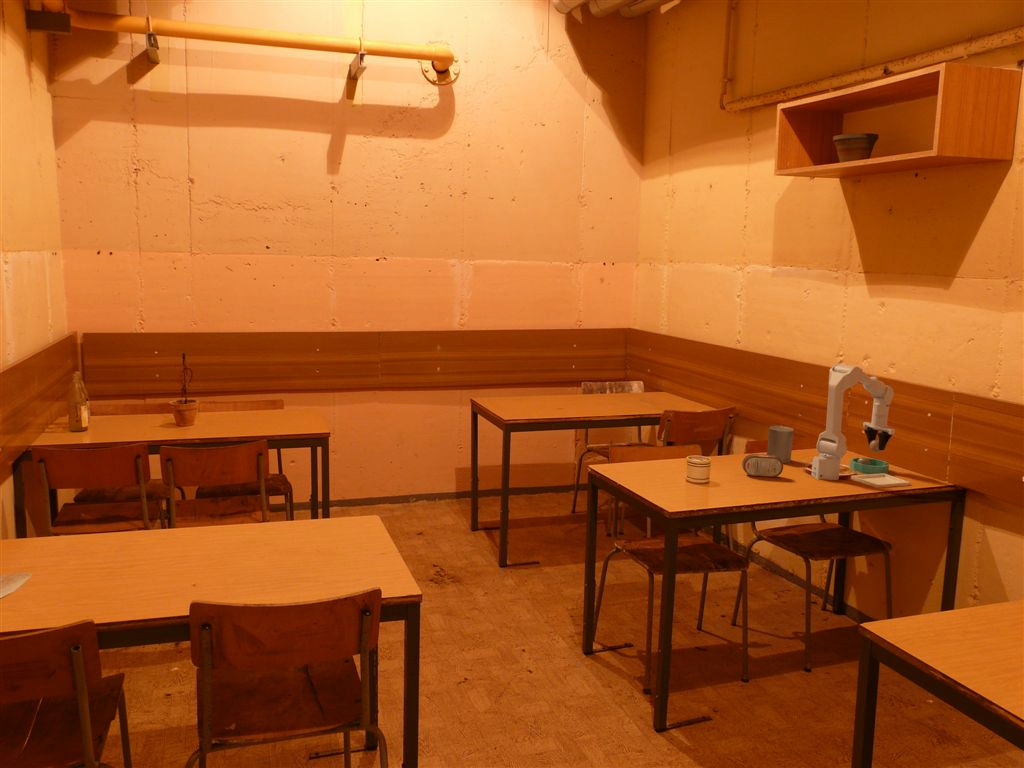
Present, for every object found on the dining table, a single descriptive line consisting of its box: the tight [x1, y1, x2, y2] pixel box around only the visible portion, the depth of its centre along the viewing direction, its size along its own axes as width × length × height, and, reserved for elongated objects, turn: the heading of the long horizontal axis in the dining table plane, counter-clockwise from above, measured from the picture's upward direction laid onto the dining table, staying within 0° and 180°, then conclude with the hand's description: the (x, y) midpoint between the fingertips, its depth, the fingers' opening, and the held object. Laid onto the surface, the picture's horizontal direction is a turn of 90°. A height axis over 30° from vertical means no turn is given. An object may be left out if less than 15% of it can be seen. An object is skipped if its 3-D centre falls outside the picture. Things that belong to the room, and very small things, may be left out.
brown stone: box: [869, 439, 882, 453], centre depth 327 cm, size 5×5×5 cm
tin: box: [741, 453, 784, 478], centre depth 314 cm, size 15×3×8 cm, turn 84°
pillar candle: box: [766, 424, 795, 464], centre depth 340 cm, size 10×10×15 cm
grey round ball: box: [857, 456, 870, 465], centre depth 327 cm, size 5×5×5 cm
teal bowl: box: [849, 457, 890, 475], centre depth 328 cm, size 14×14×4 cm
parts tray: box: [850, 473, 911, 489], centre depth 310 cm, size 16×13×2 cm
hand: (876, 448), depth 327 cm, fingers closed on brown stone, 5 cm apart
